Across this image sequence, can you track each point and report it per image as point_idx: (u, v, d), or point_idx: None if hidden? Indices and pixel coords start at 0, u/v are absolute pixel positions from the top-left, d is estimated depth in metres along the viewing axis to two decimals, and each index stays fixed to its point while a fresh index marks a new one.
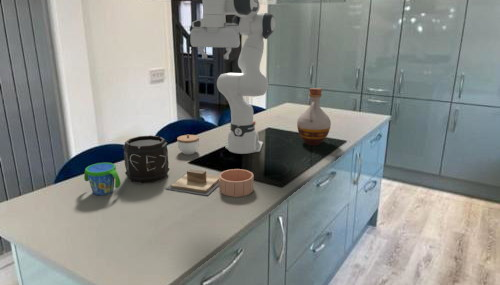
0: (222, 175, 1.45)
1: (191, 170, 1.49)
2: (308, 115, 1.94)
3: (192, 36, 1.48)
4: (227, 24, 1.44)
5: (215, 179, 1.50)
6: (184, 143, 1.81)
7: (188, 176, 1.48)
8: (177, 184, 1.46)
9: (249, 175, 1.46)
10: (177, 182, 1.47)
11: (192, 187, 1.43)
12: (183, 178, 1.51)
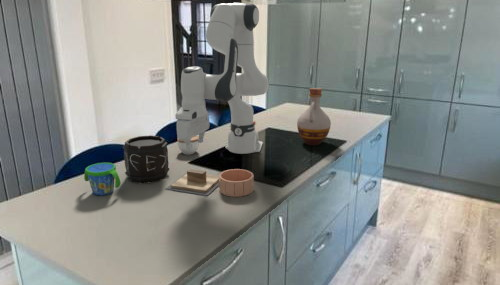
0: (222, 175, 1.45)
1: (191, 170, 1.49)
2: (308, 115, 1.94)
3: (188, 129, 1.34)
4: None
5: (215, 179, 1.50)
6: (184, 143, 1.81)
7: (188, 176, 1.48)
8: (177, 184, 1.46)
9: (249, 175, 1.46)
10: (177, 182, 1.47)
11: (192, 187, 1.43)
12: (183, 178, 1.51)
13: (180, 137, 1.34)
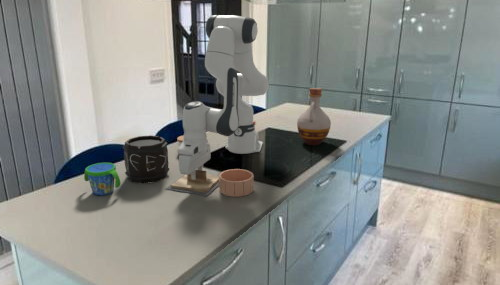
0: (222, 175, 1.45)
1: None
2: (308, 115, 1.94)
3: (190, 164, 1.38)
4: None
5: (215, 179, 1.50)
6: None
7: (188, 176, 1.48)
8: (177, 184, 1.46)
9: (249, 175, 1.46)
10: (177, 182, 1.47)
11: (192, 187, 1.43)
12: (183, 178, 1.51)
13: (182, 171, 1.38)
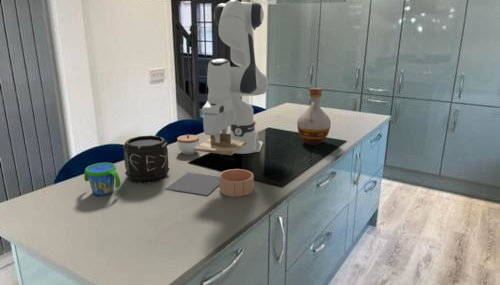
0: (222, 175, 1.45)
1: None
2: (308, 115, 1.94)
3: (215, 124, 1.29)
4: None
5: (240, 143, 1.42)
6: (184, 143, 1.81)
7: (212, 139, 1.40)
8: (200, 147, 1.37)
9: (249, 175, 1.46)
10: (200, 145, 1.39)
11: (216, 150, 1.34)
12: (206, 142, 1.43)
13: (207, 132, 1.30)
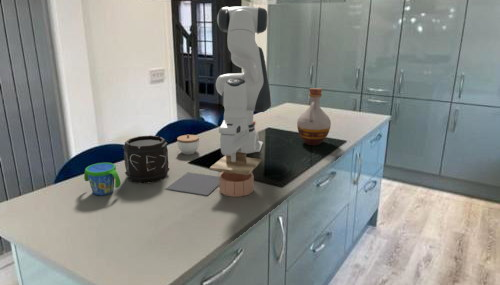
0: (222, 175, 1.45)
1: None
2: (308, 115, 1.94)
3: (232, 144, 1.30)
4: None
5: (255, 162, 1.42)
6: (184, 143, 1.81)
7: (227, 158, 1.40)
8: (216, 166, 1.37)
9: (249, 175, 1.46)
10: (216, 165, 1.39)
11: (233, 169, 1.35)
12: (221, 161, 1.43)
13: (224, 152, 1.30)
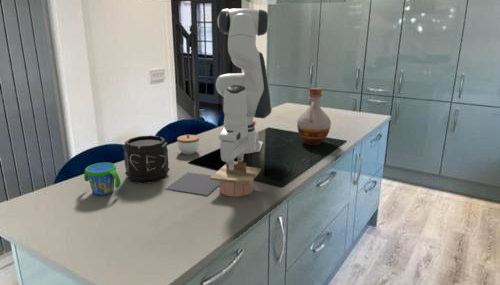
0: None
1: None
2: (308, 115, 1.94)
3: (232, 151, 1.30)
4: None
5: (255, 171, 1.43)
6: (184, 143, 1.81)
7: (227, 168, 1.41)
8: (217, 176, 1.39)
9: None
10: (216, 174, 1.41)
11: (233, 179, 1.36)
12: (221, 170, 1.44)
13: (224, 159, 1.31)
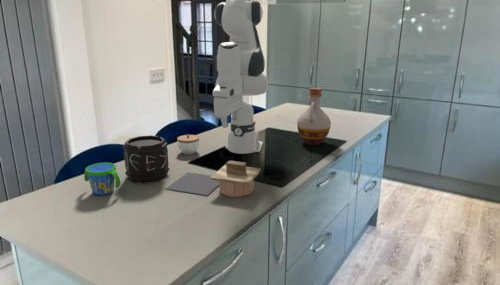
0: None
1: (230, 162, 1.42)
2: (308, 115, 1.94)
3: (226, 107, 1.30)
4: None
5: (255, 171, 1.43)
6: (184, 143, 1.81)
7: (227, 168, 1.41)
8: (217, 176, 1.39)
9: None
10: (216, 174, 1.41)
11: (233, 179, 1.36)
12: (221, 170, 1.44)
13: (217, 115, 1.31)
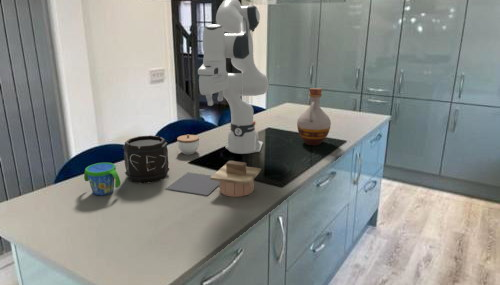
0: None
1: (230, 162, 1.42)
2: (308, 115, 1.94)
3: (210, 84, 1.38)
4: None
5: (255, 171, 1.43)
6: (184, 143, 1.81)
7: (227, 168, 1.41)
8: (217, 176, 1.39)
9: None
10: (216, 174, 1.41)
11: (233, 179, 1.36)
12: (221, 170, 1.44)
13: (202, 92, 1.39)
